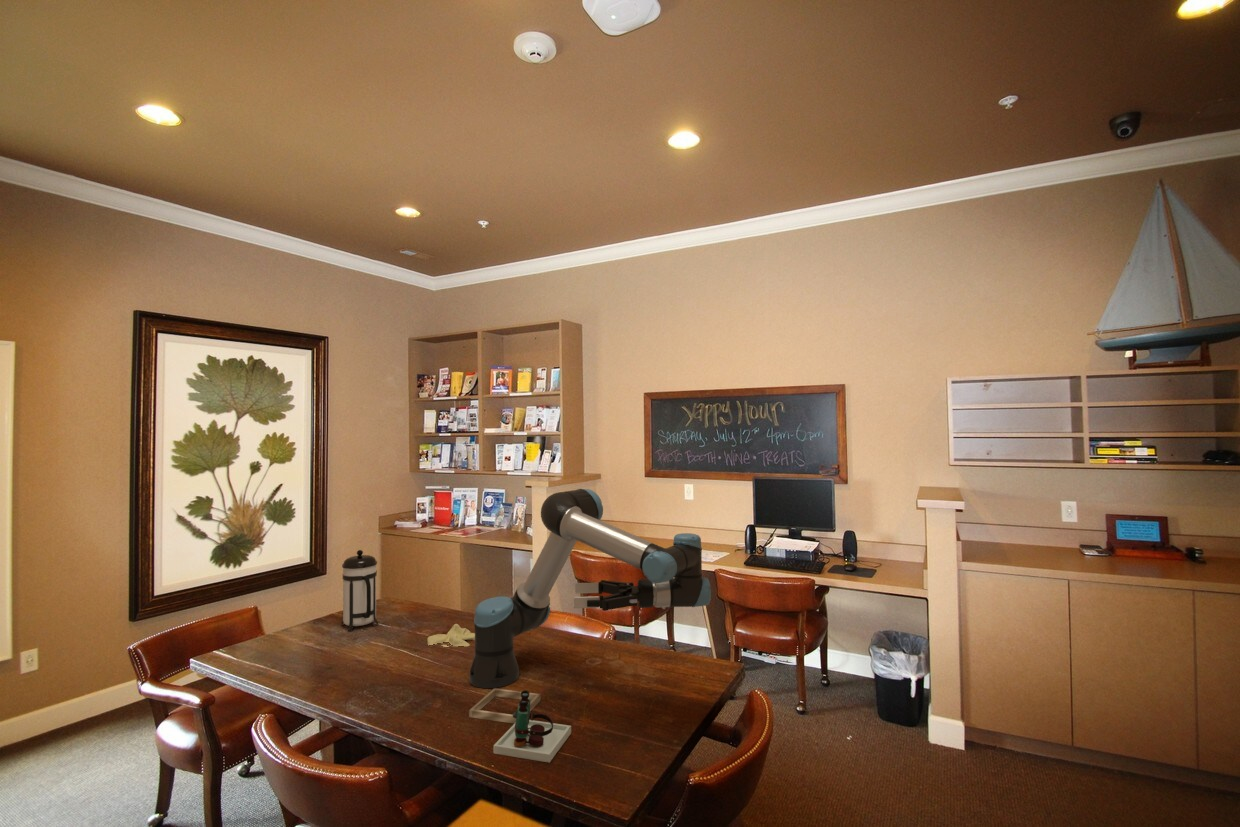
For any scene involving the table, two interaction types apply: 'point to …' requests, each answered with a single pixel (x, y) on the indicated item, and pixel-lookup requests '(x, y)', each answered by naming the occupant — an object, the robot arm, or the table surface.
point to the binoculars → (523, 721)
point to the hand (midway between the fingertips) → (574, 595)
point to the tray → (529, 751)
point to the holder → (501, 717)
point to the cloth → (453, 637)
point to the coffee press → (359, 590)
